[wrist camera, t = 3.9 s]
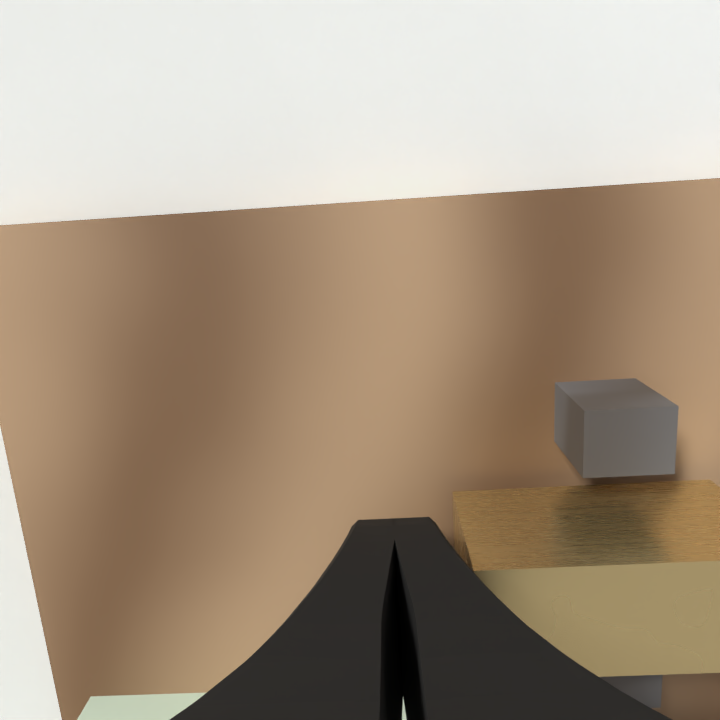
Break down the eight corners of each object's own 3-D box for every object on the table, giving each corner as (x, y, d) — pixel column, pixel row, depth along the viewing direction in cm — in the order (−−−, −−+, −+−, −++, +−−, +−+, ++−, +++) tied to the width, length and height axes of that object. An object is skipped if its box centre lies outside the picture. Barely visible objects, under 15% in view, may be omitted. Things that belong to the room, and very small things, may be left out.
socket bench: (997, 161, 11) (1227, 142, 8) (871, 905, 15) (993, 1076, 12) (-6, 226, 11) (-136, 232, 9) (130, 919, 15) (73, 1084, 13)
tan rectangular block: (710, 479, 11) (806, 556, 8) (703, 571, 11) (793, 670, 9) (452, 491, 11) (473, 571, 9) (455, 581, 11) (476, 680, 9)
